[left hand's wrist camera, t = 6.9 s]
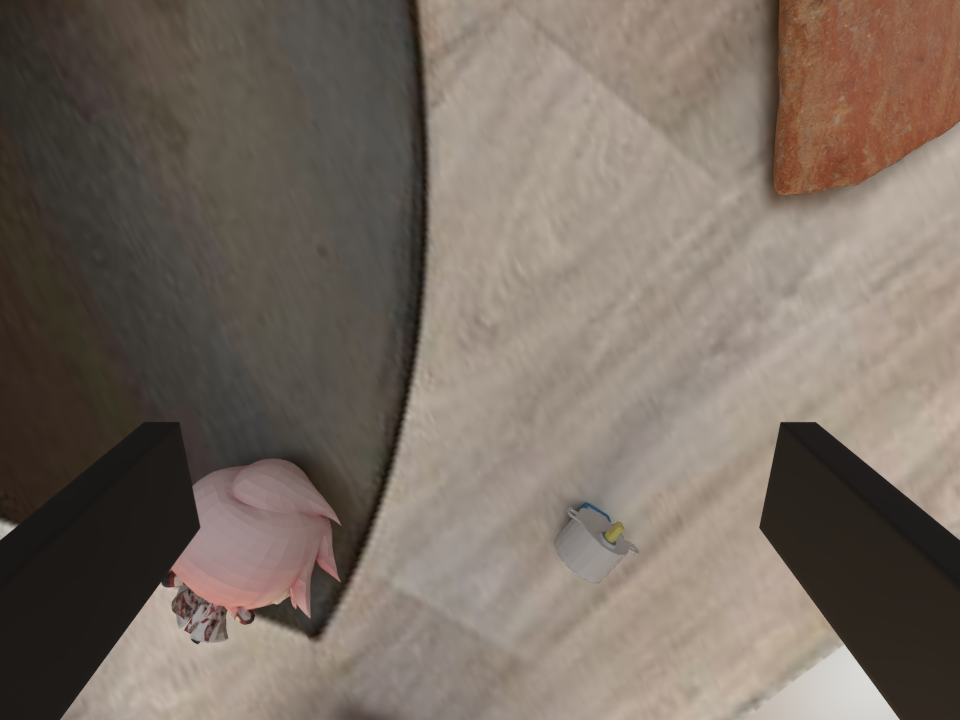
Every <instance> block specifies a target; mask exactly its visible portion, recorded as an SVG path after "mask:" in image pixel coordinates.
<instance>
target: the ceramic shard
mask: <svg viewBox="0 0 960 720" xmlns="http://www.w3.org/2000/svg"><path fill="white" fill-rule="evenodd" d="M778 77H779V86H780V97H779V109H778V113H777V122H776V134H775V148H774V152H775V153H774V171H773V183H774V187H775V189H776V191H777V192H778V193H779V194H780V195H790V194H803V193H806V194H810V193H815V192H823V191H825V190H827V189H832V188H837V187H842V186H848V185H857V184H860V183H861V182H863V181H864V180H865V179H867V178H868V177H871V176H873V175H875V174H876V173H878V172H879V171H881V170H883V169H884V168H886V167H888V166H890V165H892V164H894V163H896V162H898V161H899V160H901V159H902V158H903V157H904V156H906V155H907V154H909V153H910V152H912V151H913V150H915V149H917V148H919V147H920V146H922V145H923V144H925V143H926V142H927V141H930V140H932V139H935V138H937V137H939V136H940V135H942V134H943V133H945V132H946V131H948V130H949V129H951V128H952V127H953V126H954V125H955V124H957V123H958V122H959V121H960V0H779V57H778Z"/></svg>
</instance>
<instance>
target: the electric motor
mask: <svg viewBox="0 0 960 720" xmlns="http://www.w3.org/2000/svg"><path fill="white" fill-rule="evenodd" d="M570 511H571V512H573V513H574V514H575V516H574V515H572V513H571V512H570ZM566 512H567V514H568V515H569V516H570V517H571V518H572V519H571V520H570V522H569V523H568V524H567V525H566V526H565V528H564V529H563V530H562V531H561V532H560V534H559V535H558V536H557V537H556V539H555V547H556V550H557V553H558V555H559V557H560V558H561V559H562V561H563V562H564V563H565V564H566V565H567V566H568V567H569V569H570V570H571V571H572V572H574V573H575V574H576V575H577V576H579V577H580V578H582V579H584V580H586V581H588V582H591V583H600V582H601V581H602V580H603V579H604V578H605V577H606V576H607V575H608V574H609V572H610V571H611V570H612V569H613V568H614V567H615V566H616V565H617V564H618V563H619V562H620V561H621V559H622V558H623V557H624V556H625V555H626V554H627V553H628V551H629V552H631V553H633V554H635V555H638V554H639V550H638V549H637V548H636V547H635V545H634V544H632V543H630V542H628V541H627V540H625V539H624V537H623V536H622V534H621V533H622V532H623V530H624V527H623V524H621V523H620V522H618V521H617V522H616V523H615V524H614V525H613V524H611V523H610V522H611V521H610V518H609V516H607V515H606V514H604V513H603V512H601V511H599V510H598V509H596V508H594V507H593V506H591V505H589V504H587V503H585V504H584V505H583V507H582V508H581V509H580V510H579V511H578V512H577V511H575V510H574V509H572V508H570V507H567V508H566ZM630 546H632V547H633V548H634V549H635V551H634V550H633V549H632V548H631V547H630Z"/></svg>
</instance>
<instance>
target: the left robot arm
mask: <svg viewBox="0 0 960 720" xmlns="http://www.w3.org/2000/svg"><path fill="white" fill-rule="evenodd" d="M200 528H201V527H200V522H199V517H198V512H197V507H196V502H195V497H194V492H193V488H192V483H191V478H190V473H189V468H188V463H187V458H186V453H185V448H184V443H183V438H182V433H181V428H180V423H179V422H144V423H143V424H141V425H140V426H139V427H138V428H137V429H135V430H134V431H133V432H132V433H130V434H129V435H128V436H127V437H126V438H124V439H123V440H122V441H121V442H120V443H118V444H117V445H116V446H115V447H113V448H112V449H111V450H110V451H109V452H107V453H106V454H105V455H104V456H102V457H101V458H100V459H99V460H98V461H96V462H95V463H94V464H93V465H91V466H90V467H89V468H88V469H87V470H85V471H84V472H83V473H82V474H81V475H79V476H78V477H77V478H76V479H74V480H73V481H72V482H71V483H70V484H68V485H67V486H66V487H65V488H63V489H62V490H61V491H60V492H59V493H57V494H56V495H55V496H54V497H52V498H51V499H50V500H49V501H48V502H46V503H45V504H44V505H43V506H42V507H40V508H39V509H38V510H37V511H35V512H34V513H33V514H32V515H31V516H29V517H28V518H27V519H26V520H24V521H23V522H22V523H21V524H20V525H18V526H17V527H16V528H15V529H13V530H12V531H11V532H10V533H9V534H7V535H6V536H5V537H4V538H3V539H1V540H0V720H60V719H61V718H62V716H63V715H64V714H65V712H66V711H67V710H68V708H69V707H70V705H71V704H72V703H73V701H74V700H75V699H76V697H77V696H78V695H79V693H80V692H81V690H82V689H83V688H84V686H85V685H86V684H87V682H88V681H89V680H90V678H91V677H92V675H93V674H94V673H95V671H96V670H97V669H98V667H99V666H100V665H101V663H102V662H103V660H104V659H105V658H106V656H107V655H108V654H109V652H110V651H111V650H112V648H113V647H114V645H115V644H116V643H117V641H118V640H119V639H120V637H121V636H122V634H123V633H124V632H125V630H126V629H127V628H128V626H129V625H130V624H131V622H132V621H133V619H134V618H135V617H136V615H137V614H138V613H139V611H140V610H141V609H142V607H143V606H144V604H145V603H146V602H147V600H148V599H149V598H150V596H151V595H152V594H153V592H154V591H155V589H156V588H157V587H158V585H159V584H160V583H161V581H162V580H163V579H164V577H165V576H166V574H167V573H168V572H169V570H170V569H171V568H172V566H173V565H174V564H175V562H176V561H177V559H178V558H179V557H180V555H181V554H182V553H183V551H184V550H185V549H186V547H187V546H188V544H189V543H190V542H191V540H192V539H193V538H194V536H195V535H196V534H197V532H198V531H199V529H200ZM759 528H760V529H761V531H762V532H763V534H764V535H765V536H766V538H767V539H768V540H769V542H770V543H771V544H772V546H773V547H774V549H775V550H776V551H777V553H778V554H779V555H780V557H781V558H782V559H783V561H784V562H785V564H786V565H787V566H788V568H789V569H790V570H791V572H792V573H793V574H794V576H795V577H796V579H797V580H798V581H799V583H800V584H801V585H802V587H803V588H804V589H805V591H806V592H807V594H808V595H809V596H810V598H811V599H812V600H813V602H814V603H815V604H816V606H817V607H818V609H819V610H820V611H821V613H822V614H823V615H824V617H825V618H826V619H827V621H828V622H829V624H830V625H831V626H832V628H833V629H834V630H835V632H836V633H837V634H838V636H839V637H840V639H841V640H842V641H843V643H844V644H845V645H846V647H847V648H848V650H849V651H850V652H851V653H852V655H853V656H854V658H855V659H856V660H857V662H858V663H859V665H860V666H861V667H862V669H863V670H864V671H865V673H866V674H867V675H868V677H869V678H870V679H871V681H872V682H873V684H874V685H875V686H876V688H877V689H878V690H879V692H880V693H881V694H882V696H883V697H884V699H885V700H886V701H887V703H888V704H889V705H890V707H891V708H892V710H893V711H894V712H895V714H896V715H897V716H898V718H899V719H900V720H960V540H959V539H957V538H956V537H955V536H954V535H953V534H951V533H950V532H949V531H948V530H947V529H945V528H944V527H943V526H942V525H940V524H939V523H938V522H937V521H936V520H934V519H933V518H932V517H931V516H929V515H928V514H927V513H926V512H925V511H923V510H922V509H921V508H920V507H918V506H917V505H916V504H915V503H914V502H912V501H911V500H910V499H909V498H908V497H906V496H905V495H904V494H903V493H901V492H900V491H899V490H898V489H897V488H895V487H894V486H893V485H892V484H890V483H889V482H888V481H887V480H886V479H884V478H883V477H882V476H881V475H879V474H878V473H877V472H876V471H875V470H873V469H872V468H871V467H870V466H869V465H867V464H866V463H865V462H864V461H862V460H861V459H860V458H859V457H858V456H856V455H855V454H854V453H853V452H851V451H850V450H849V449H848V448H847V447H845V446H844V445H843V444H842V443H840V442H839V441H838V440H837V439H836V438H834V437H833V436H832V435H831V434H830V433H828V432H827V431H826V430H825V429H823V428H822V427H821V426H820V425H819V424H817V423H816V422H781V423H780V428H779V433H778V438H777V443H776V448H775V453H774V458H773V463H772V468H771V473H770V478H769V483H768V488H767V492H766V497H765V502H764V507H763V512H762V517H761V522H760V527H759Z"/></svg>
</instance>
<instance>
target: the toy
mask: <svg viewBox="0 0 960 720" xmlns="http://www.w3.org/2000/svg"><path fill="white" fill-rule="evenodd" d="M192 488H193V492H194V497H195V502H196V507H197V512H198V517H199V522H200V527H201V528H200V529H199V531H198V532H197V534H196V535H195V536H194V538H193V539H192V540H191V542H190V543H189V544H188V546H187V547H186V549H185V550H184V551H183V553H182V554H181V555H180V557H179V558H178V559H177V561H176V562H175V564H174V565H173V566H172V568H171V569H170V570H169V572H168V573H167V574H166V576H165V577H164V579H163V580H162V581H161V582H162V585H163V586H164V587H176V586H182V585H183V586H182V587H180V588H179V590H178V593H177V595H176V597H175V598H174V600H173V601H172V611H173V612H174V613H175V614H176V617H177V623H178V627H179V629H180V628H181V627H183V626H184V625H185V624H186V623H187V622H188V621H189V620H190V619H191V618H192V619H191V620H190V622H189V623H188V625H187V627H186V628H185V631H187V632H188V633H190V634H191V636H190V638H191V640H192V641H193V642H194V643H196V644H199V643H200V642H205V643H215V642H221V641H225V640H227V639H228V635H227V630H226V612H227V611H228V612H229V613H230V615H231V616H232V617H233V618H234V620H235V618H236V619H237V620H238V621H239V622H240V623H241V624H244V625H246V624H250V623H252V622H253V621H254V617H255V615H254V613H253V611H254V609H255V608H259V607H263V606H267V605H270V604H273V603H274V604H279V603H281V601H282V600H284V599H286V598H287V597H289V596H291V602H292V605H293V607H295V608H297V605H298V606H299V607H300V608H301V610H302V611H303V612H304V613H305V614H306V615H307V616H308V617H309V618H310V579H311V574H312V571H313V568H314V566H315V562H317V563H318V565H319V566H320V567H321V568H323V569H324V570H325V571H326V572H328V573H329V574H330V575H332V576H333V577H334V578H336V579H337V580H338V581H340V579H339V577H338V575H337V569H336V564H335V560H334V555H333V549H332V529H331V524H330V520H329V518H331V519H333V520H334V521H336V522H337V523H338V524H339V525H341V524H340V522H339V520H338V518H337V516H336V514H335V512H334V511H333V509H332V508H331V507H330V505H329V504H328V503H327V501H326V500H325V499H324V498H323V497H322V495H321V494H320V493H319V492H318V491H317V490H316V488H315V487H314V485H313V484H312V483H311V482H310V480H309V479H308V477H307V476H306V474H305V473H304V471H302V470H301V469H300V468H299V467H297V466H296V465H295V464H293V463H291V462H289V461H286V460H282V459H276V458H271V459H262V460H259V461H257V462H254V463H252V464H250V465H244V466H236V467H229V468H224V469H221V470H218V471H215V472H212V473H210V474H209V475H207V476H205V477H204V478H202V479H201V480H199V481H198V482H197V483H196V484H194V485H193V486H192ZM249 609H252V610H251V611H250V610H249ZM310 619H311V618H310Z"/></svg>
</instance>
